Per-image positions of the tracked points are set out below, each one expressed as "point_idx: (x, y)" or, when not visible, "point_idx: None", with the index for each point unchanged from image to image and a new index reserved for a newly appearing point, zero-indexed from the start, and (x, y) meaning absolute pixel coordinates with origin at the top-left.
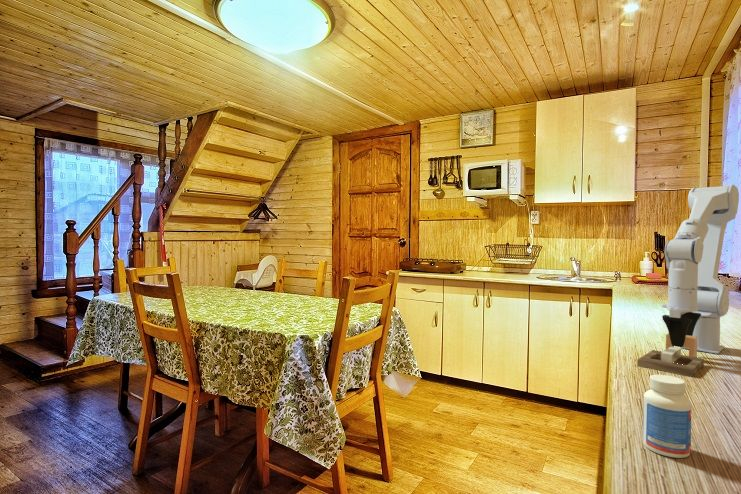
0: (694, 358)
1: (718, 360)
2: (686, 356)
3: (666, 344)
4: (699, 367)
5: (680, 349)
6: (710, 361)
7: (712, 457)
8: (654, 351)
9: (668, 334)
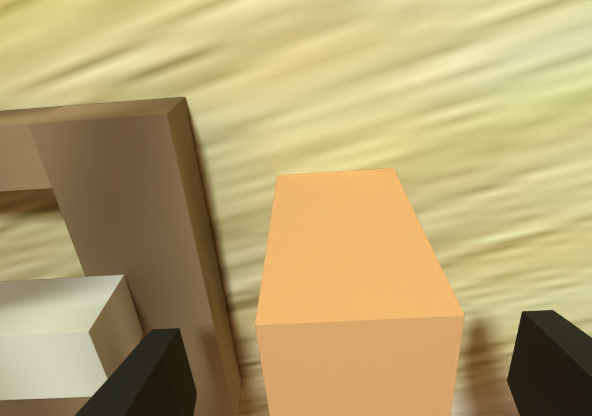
0: None
1: (467, 404)
2: (199, 353)
3: (271, 240)
4: None
5: None
6: None
7: None
8: (116, 145)
9: (288, 342)
